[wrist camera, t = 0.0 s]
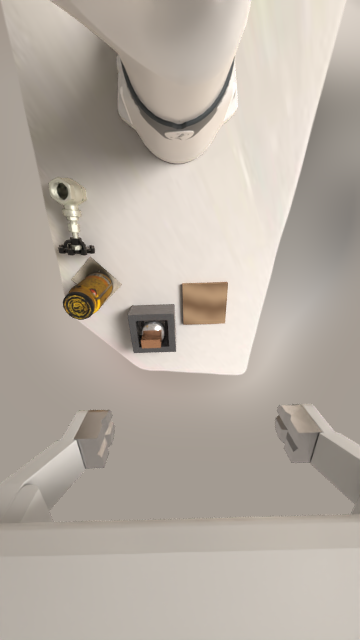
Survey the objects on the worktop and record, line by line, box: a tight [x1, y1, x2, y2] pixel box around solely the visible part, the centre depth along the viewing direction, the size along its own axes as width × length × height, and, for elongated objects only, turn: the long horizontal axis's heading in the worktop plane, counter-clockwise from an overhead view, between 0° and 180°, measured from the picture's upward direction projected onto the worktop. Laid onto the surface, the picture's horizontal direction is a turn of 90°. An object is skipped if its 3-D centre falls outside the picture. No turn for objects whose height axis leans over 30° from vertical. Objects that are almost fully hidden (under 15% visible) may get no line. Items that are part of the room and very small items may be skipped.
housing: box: [128, 304, 176, 353], centre depth 50 cm, size 10×10×5 cm
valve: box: [48, 177, 95, 255], centre depth 38 cm, size 7×7×12 cm
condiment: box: [63, 257, 122, 320], centre depth 42 cm, size 7×8×12 cm
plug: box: [141, 320, 165, 348], centre depth 48 cm, size 5×5×9 cm
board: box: [182, 282, 228, 325], centre depth 49 cm, size 10×10×1 cm
